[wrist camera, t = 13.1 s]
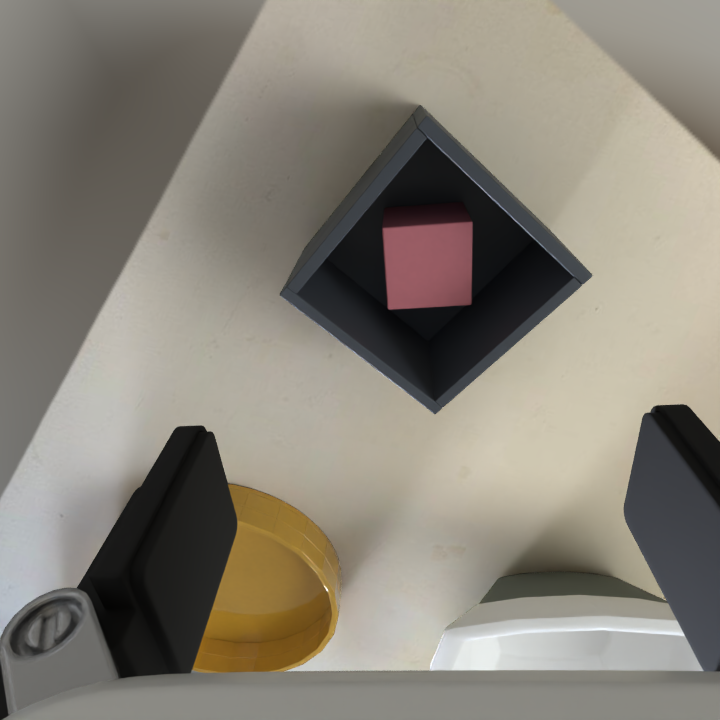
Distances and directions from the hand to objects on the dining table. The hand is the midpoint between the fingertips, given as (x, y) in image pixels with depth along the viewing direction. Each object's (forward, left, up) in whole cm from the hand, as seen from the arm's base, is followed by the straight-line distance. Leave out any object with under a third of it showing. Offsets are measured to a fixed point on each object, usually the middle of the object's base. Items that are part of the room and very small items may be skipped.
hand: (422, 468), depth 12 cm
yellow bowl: (-17, -29, -22) cm, 40 cm away
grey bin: (+1, -1, -22) cm, 22 cm away
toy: (+1, -1, -21) cm, 21 cm away
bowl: (+11, -35, -22) cm, 43 cm away
